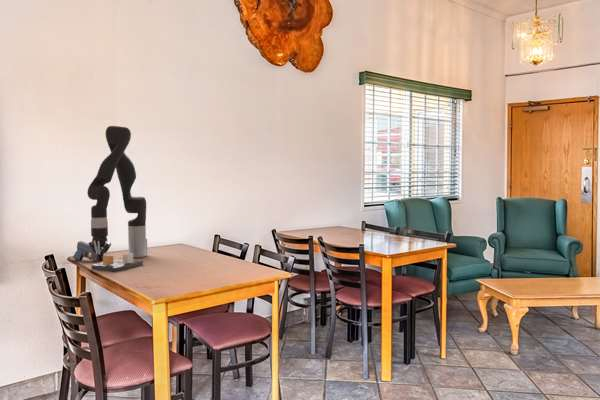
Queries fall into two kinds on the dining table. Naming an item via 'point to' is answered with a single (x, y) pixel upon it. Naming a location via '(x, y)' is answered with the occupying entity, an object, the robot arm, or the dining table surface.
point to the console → (117, 265)
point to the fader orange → (108, 260)
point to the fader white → (128, 258)
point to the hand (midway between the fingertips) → (100, 261)
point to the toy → (84, 252)
